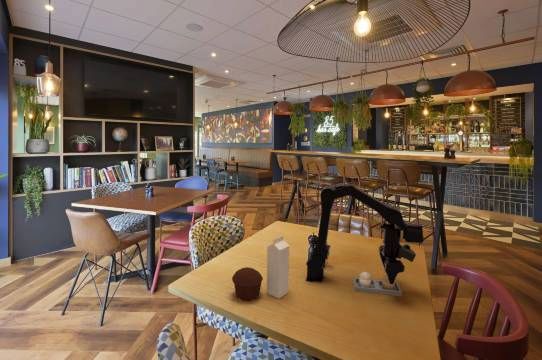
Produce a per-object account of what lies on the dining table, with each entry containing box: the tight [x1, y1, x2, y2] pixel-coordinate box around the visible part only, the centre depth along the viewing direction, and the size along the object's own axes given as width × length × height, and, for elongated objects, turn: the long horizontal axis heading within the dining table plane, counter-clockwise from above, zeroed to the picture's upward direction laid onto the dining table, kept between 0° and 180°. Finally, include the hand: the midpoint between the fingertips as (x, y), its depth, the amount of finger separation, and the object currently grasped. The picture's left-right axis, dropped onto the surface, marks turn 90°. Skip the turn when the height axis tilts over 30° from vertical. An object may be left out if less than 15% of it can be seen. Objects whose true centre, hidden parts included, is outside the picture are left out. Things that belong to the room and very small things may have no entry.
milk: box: [266, 235, 290, 299], centre depth 110 cm, size 6×6×22 cm
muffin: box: [231, 266, 264, 302], centre depth 109 cm, size 12×11×10 cm
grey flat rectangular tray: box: [352, 277, 403, 297], centre depth 115 cm, size 17×8×2 cm, turn 78°
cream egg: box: [358, 271, 372, 288], centre depth 115 cm, size 4×4×6 cm
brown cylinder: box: [382, 273, 396, 290], centre depth 113 cm, size 4×4×6 cm
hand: (389, 278), depth 113 cm, fingers open, 9 cm apart
